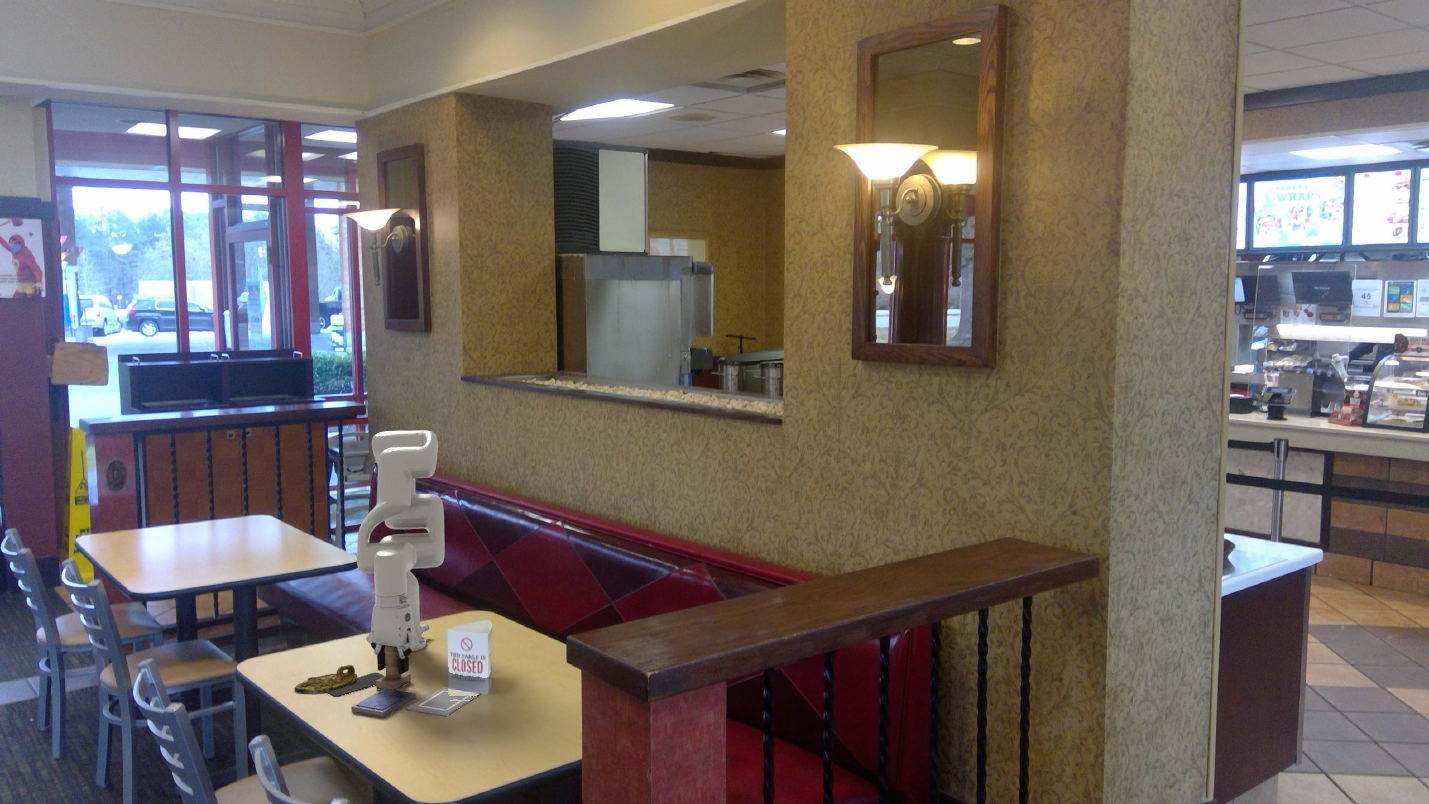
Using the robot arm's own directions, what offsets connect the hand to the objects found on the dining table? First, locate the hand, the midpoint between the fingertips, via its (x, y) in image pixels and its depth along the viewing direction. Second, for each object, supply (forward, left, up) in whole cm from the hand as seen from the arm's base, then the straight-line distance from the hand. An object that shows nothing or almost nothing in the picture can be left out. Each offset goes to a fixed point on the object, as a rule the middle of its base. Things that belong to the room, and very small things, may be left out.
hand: (393, 669), depth 251 cm
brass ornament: (+6, -16, -5) cm, 17 cm away
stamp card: (+4, +18, -4) cm, 19 cm away
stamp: (0, 0, -4) cm, 4 cm away
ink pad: (+11, +6, -4) cm, 13 cm away
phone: (+3, -9, -5) cm, 11 cm away
